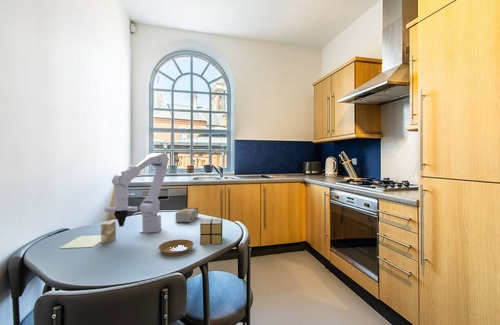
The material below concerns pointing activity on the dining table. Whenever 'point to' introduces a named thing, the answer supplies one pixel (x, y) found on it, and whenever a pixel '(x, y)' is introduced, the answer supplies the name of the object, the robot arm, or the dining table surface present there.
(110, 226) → the birch block
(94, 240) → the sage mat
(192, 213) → the coffee box
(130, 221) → the dining table surface
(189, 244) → the plant saucer
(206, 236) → the puzzle cube
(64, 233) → the dining table surface
